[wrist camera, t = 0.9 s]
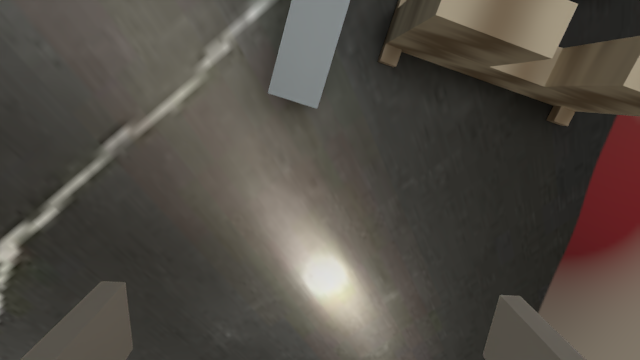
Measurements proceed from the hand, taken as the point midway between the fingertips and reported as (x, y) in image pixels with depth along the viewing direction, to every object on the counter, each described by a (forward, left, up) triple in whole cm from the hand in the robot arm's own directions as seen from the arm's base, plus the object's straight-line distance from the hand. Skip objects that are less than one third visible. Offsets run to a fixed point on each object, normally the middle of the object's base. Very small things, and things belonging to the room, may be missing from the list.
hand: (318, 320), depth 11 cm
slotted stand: (-1, +20, -22) cm, 29 cm away
